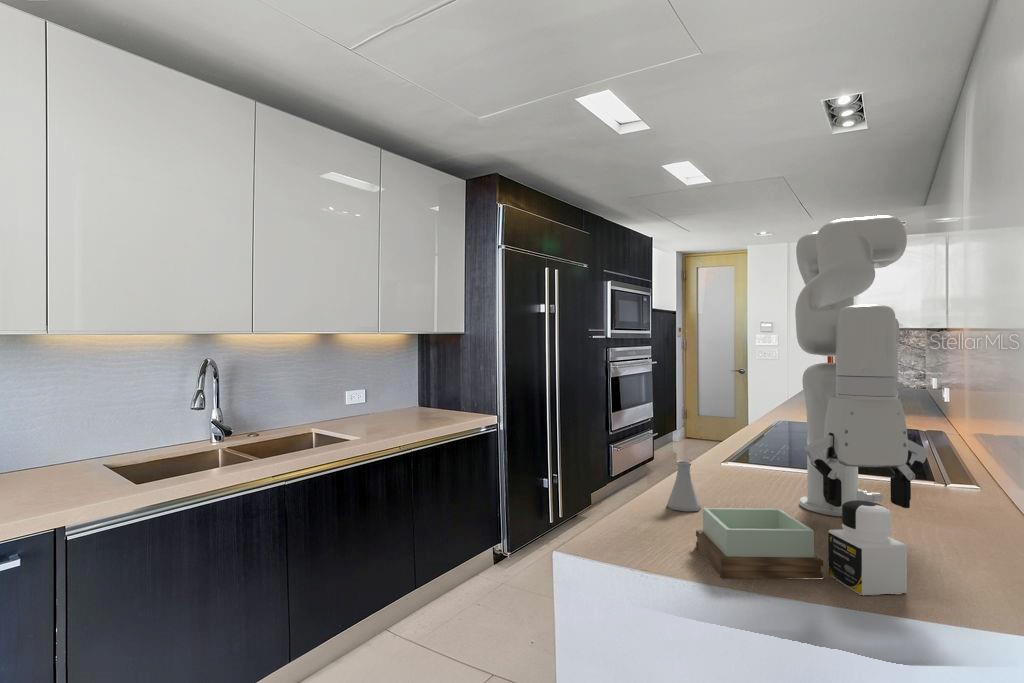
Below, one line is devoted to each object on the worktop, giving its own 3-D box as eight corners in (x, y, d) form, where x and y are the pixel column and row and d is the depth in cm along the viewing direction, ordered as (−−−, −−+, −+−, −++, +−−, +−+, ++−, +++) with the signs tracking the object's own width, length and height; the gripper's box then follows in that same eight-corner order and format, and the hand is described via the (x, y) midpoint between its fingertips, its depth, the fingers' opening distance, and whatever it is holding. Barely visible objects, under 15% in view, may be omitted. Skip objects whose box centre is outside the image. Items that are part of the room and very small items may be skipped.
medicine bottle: (827, 575, 84) (827, 497, 84) (871, 573, 84) (870, 496, 85) (861, 596, 77) (860, 511, 77) (908, 595, 77) (907, 510, 77)
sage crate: (779, 532, 94) (779, 508, 94) (813, 557, 83) (813, 530, 83) (703, 531, 95) (702, 508, 95) (726, 556, 84) (726, 529, 84)
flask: (703, 513, 115) (703, 466, 115) (667, 511, 116) (667, 464, 116) (698, 504, 122) (698, 459, 122) (665, 502, 123) (665, 458, 123)
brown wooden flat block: (783, 548, 95) (783, 531, 95) (823, 579, 82) (823, 559, 82) (695, 547, 96) (695, 530, 96) (721, 578, 83) (721, 558, 83)
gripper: (907, 388, 84) (908, 499, 84) (793, 386, 85) (794, 497, 84) (944, 391, 77) (946, 513, 76) (819, 389, 77) (820, 511, 77)
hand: (866, 505), depth 80 cm, fingers open, 9 cm apart
